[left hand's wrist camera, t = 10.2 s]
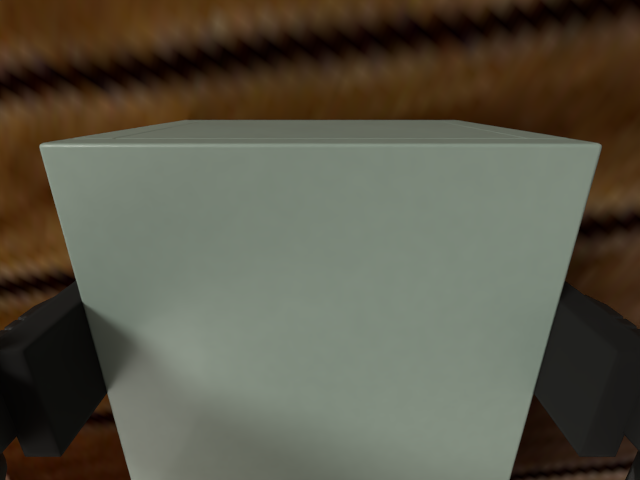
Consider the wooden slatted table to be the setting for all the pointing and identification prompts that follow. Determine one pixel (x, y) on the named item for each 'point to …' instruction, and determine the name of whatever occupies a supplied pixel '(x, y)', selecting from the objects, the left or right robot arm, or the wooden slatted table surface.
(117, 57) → the wooden slatted table surface
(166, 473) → the cabinet
